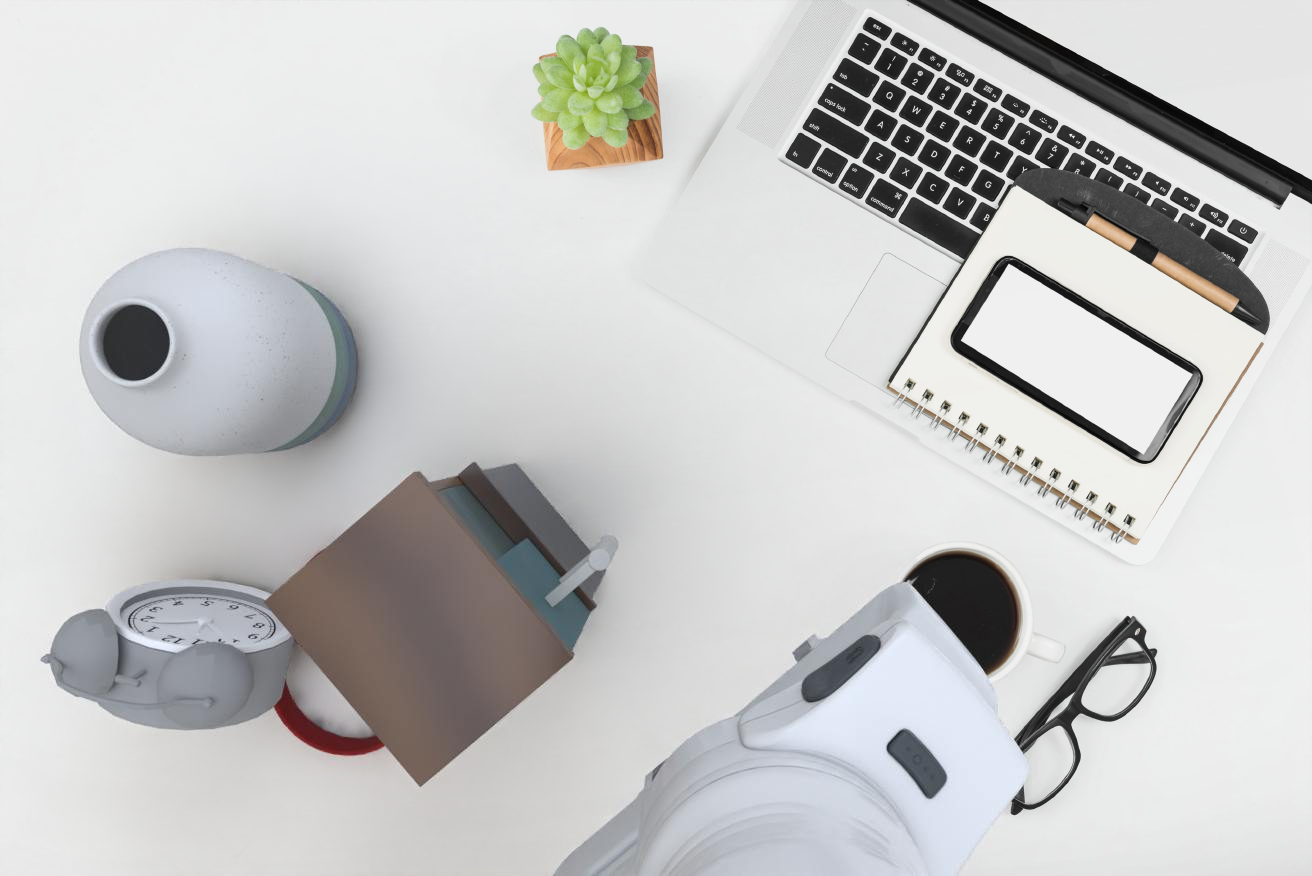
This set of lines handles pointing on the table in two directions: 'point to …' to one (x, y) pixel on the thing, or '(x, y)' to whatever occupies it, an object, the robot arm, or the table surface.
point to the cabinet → (434, 611)
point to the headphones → (315, 734)
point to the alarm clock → (176, 655)
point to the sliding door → (556, 584)
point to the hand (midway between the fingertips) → (740, 716)
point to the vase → (216, 355)
